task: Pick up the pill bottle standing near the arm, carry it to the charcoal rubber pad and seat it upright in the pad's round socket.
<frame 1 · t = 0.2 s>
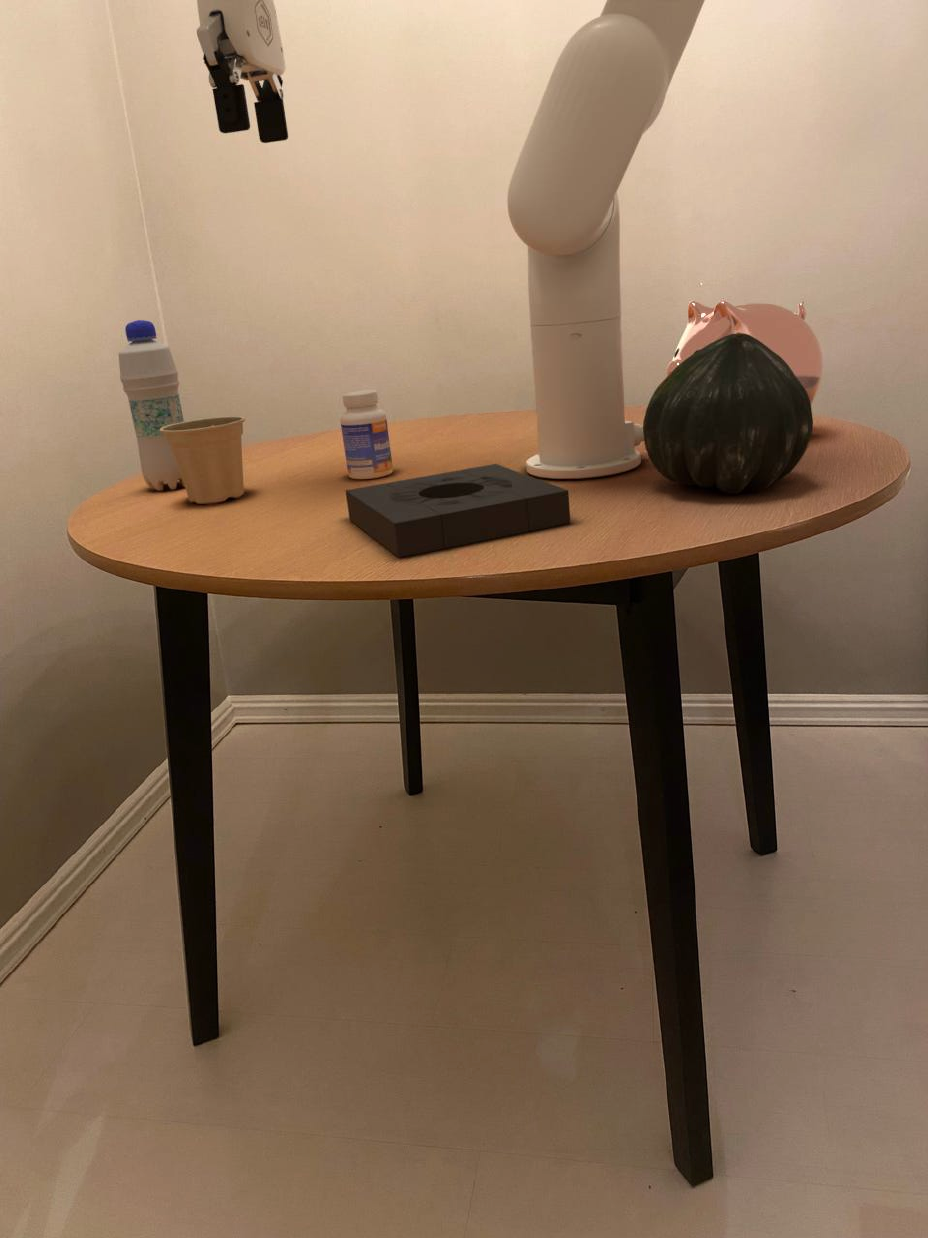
hand: (255, 136, 99), 37 cm above the table, tool pointing down, fingers open, 9 cm apart
pill bottle: (371, 476, 112), on the table
bottle: (172, 488, 118), on the table
flower pot: (217, 499, 108), on the table
pad: (454, 521, 87), on the table
squash: (727, 487, 90), on the table
piggy bank: (740, 440, 111), on the table
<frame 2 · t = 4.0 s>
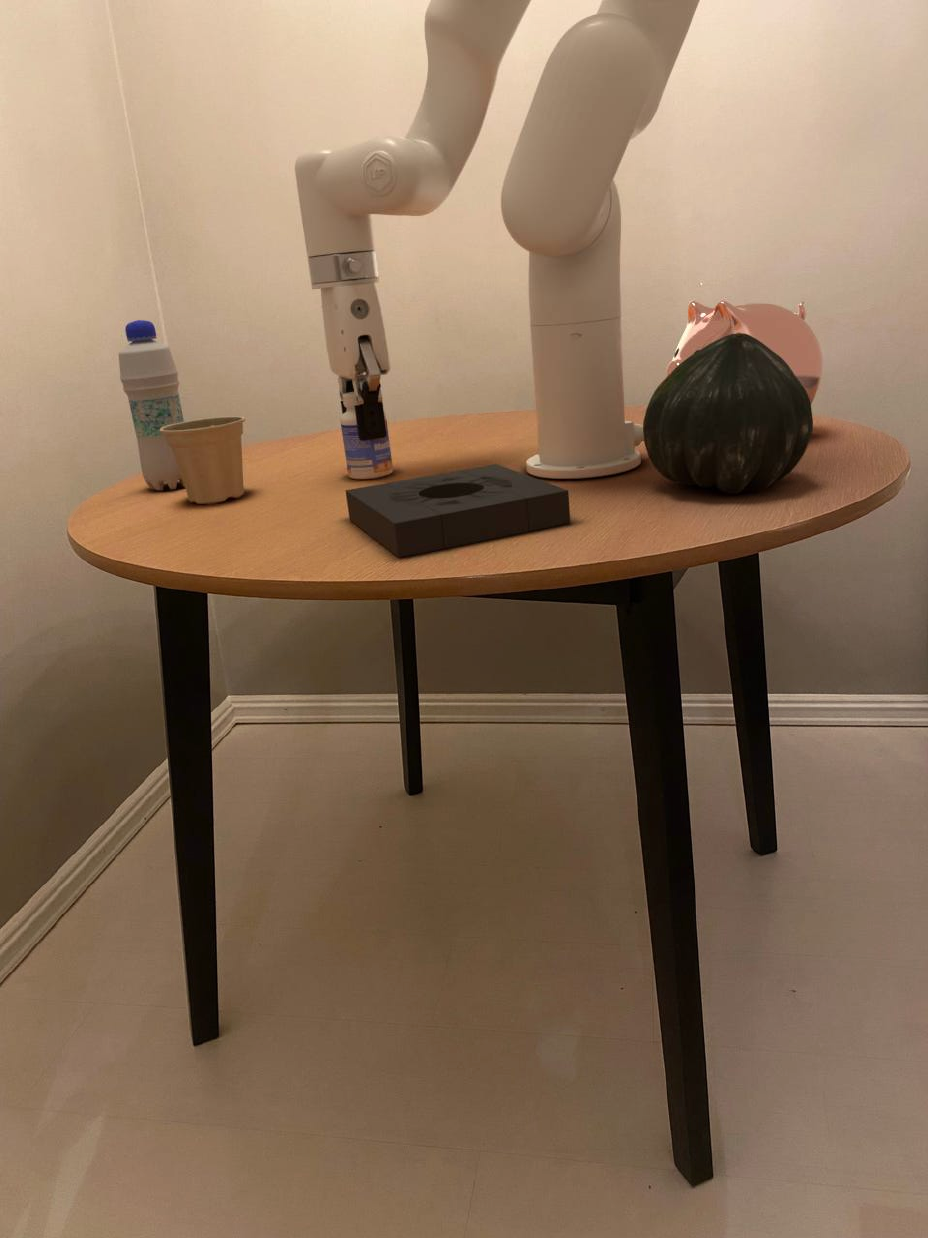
hand: (365, 434, 110), 5 cm above the table, tool pointing down, fingers closed on pill bottle, 5 cm apart
pill bottle: (371, 476, 112), on the table, touching gripper
everything else where it was.
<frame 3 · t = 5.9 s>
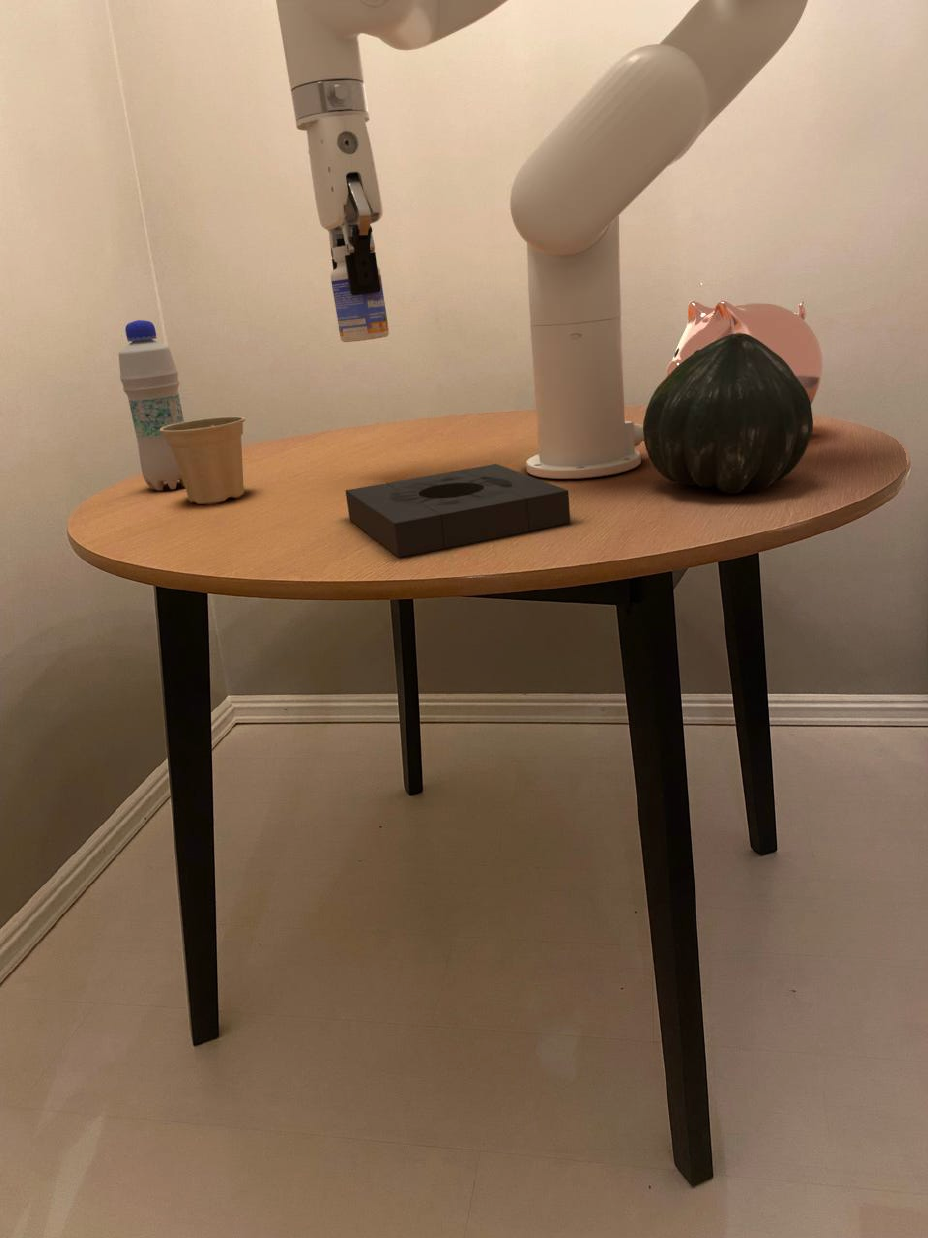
hand: (358, 292, 102), 21 cm above the table, tool pointing down, fingers closed on pill bottle, 5 cm apart
pill bottle: (365, 341, 104), point 15 cm above the table, touching gripper
everything else where it was.
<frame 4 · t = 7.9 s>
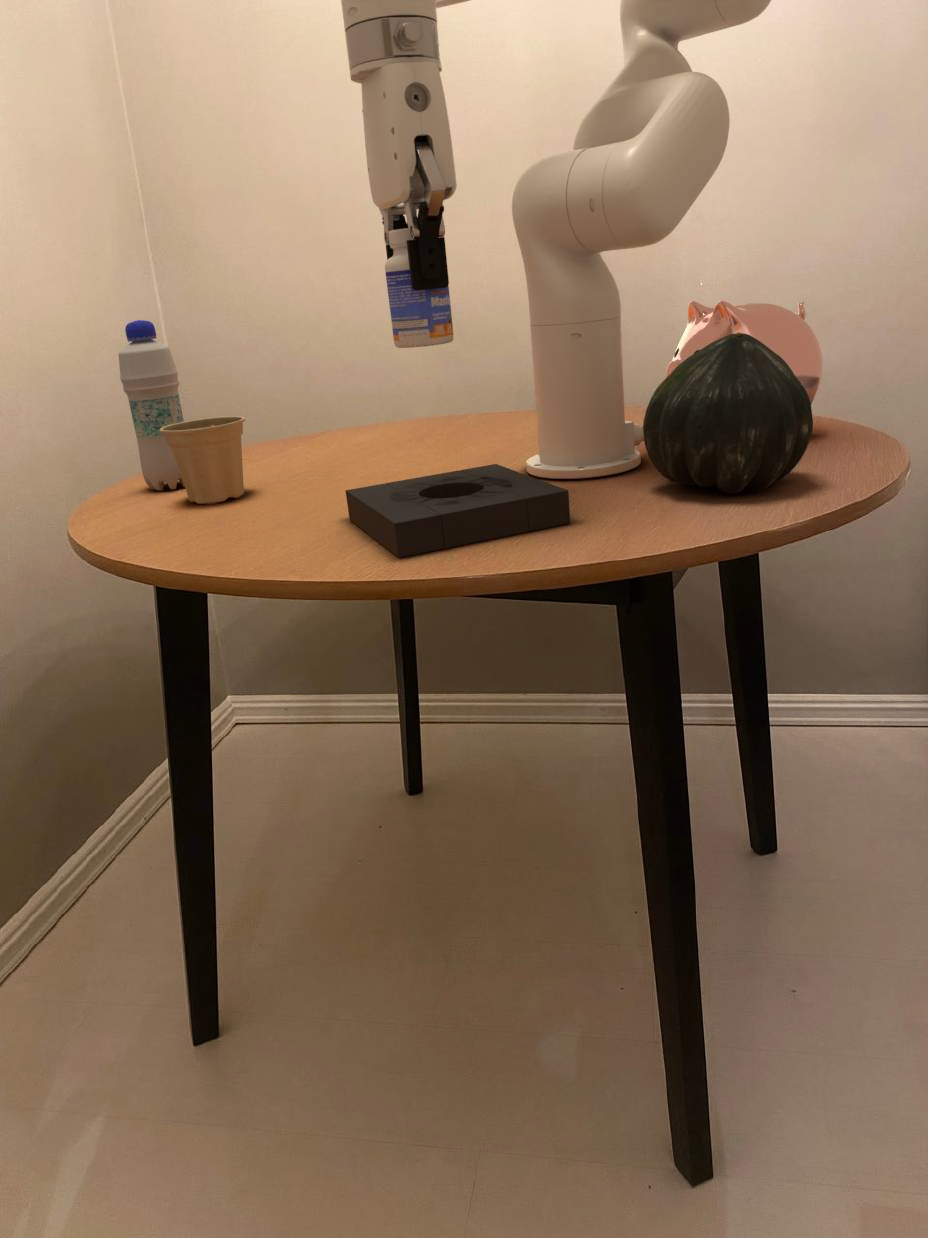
hand: (419, 287, 83), 21 cm above the table, tool pointing down, fingers closed on pill bottle, 5 cm apart
pill bottle: (424, 347, 84), point 16 cm above the table, touching gripper
everything else where it was.
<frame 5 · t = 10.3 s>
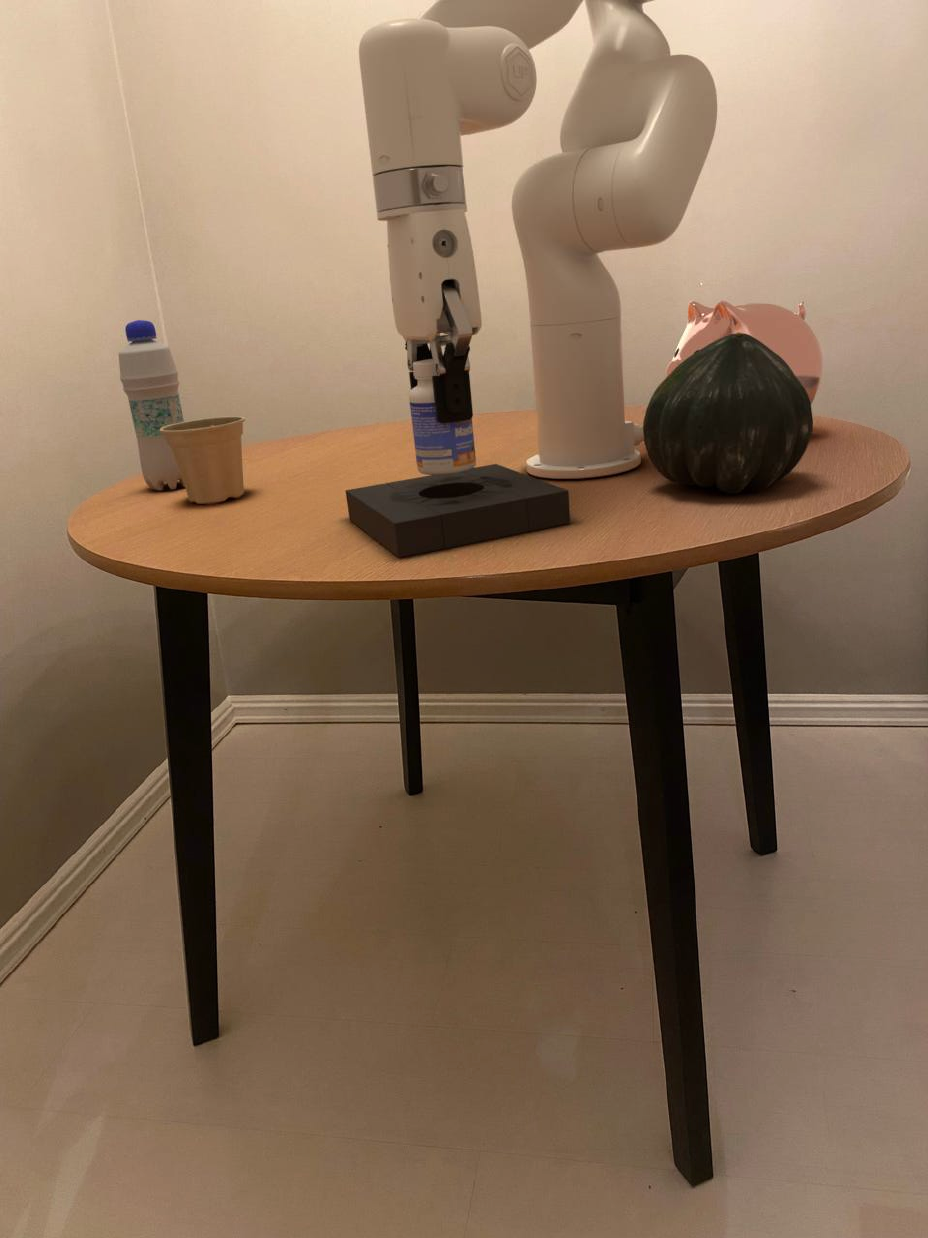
hand: (442, 415, 84), 10 cm above the table, tool pointing down, fingers closed on pill bottle, 5 cm apart
pill bottle: (447, 471, 86), point 5 cm above the table, touching gripper
everything else where it was.
when the fingers open (5 cm above the table, at t = 12.0 s): pill bottle stays where it is, resting in pad.
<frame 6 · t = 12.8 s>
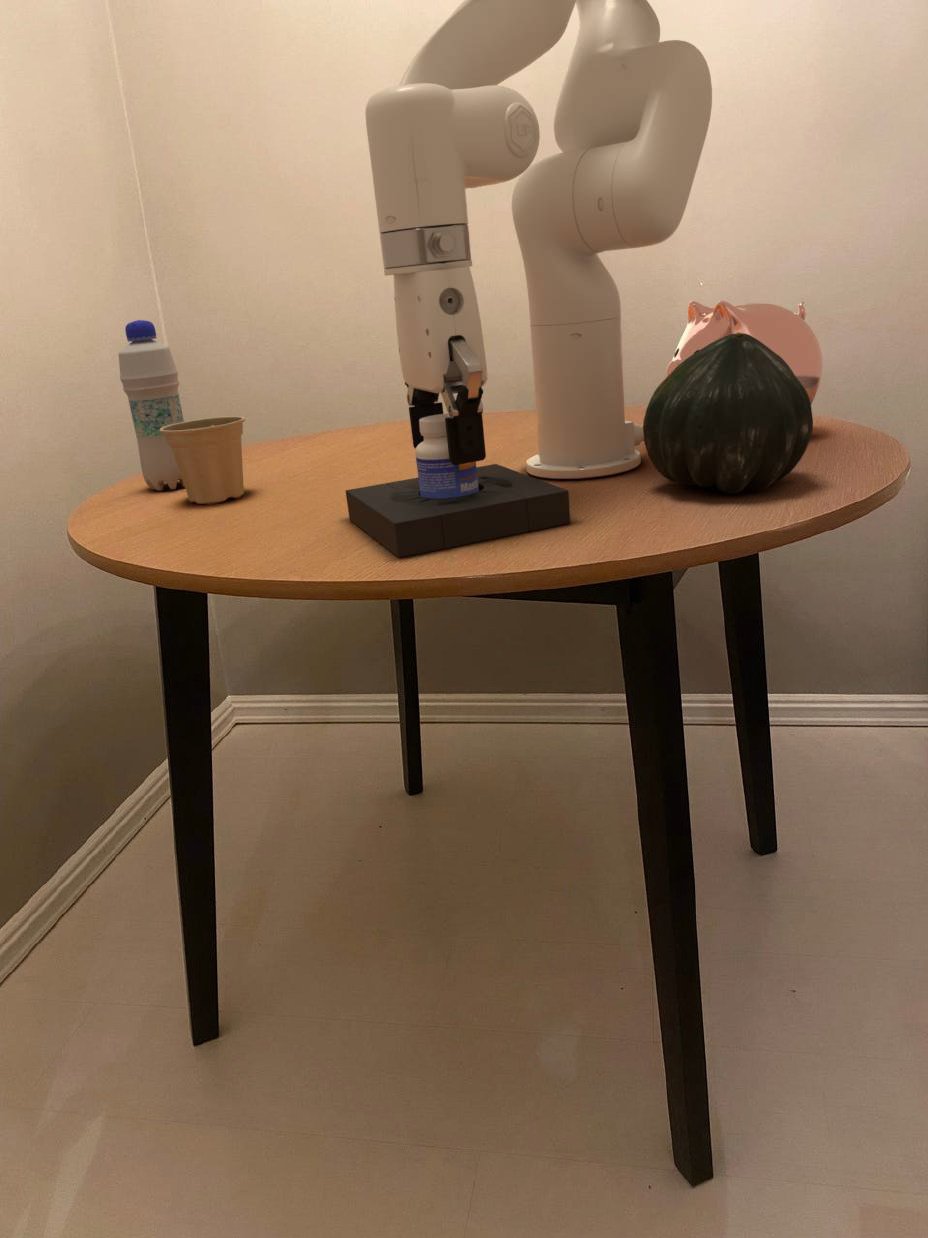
hand: (448, 454, 85), 6 cm above the table, tool pointing down, fingers open, 9 cm apart
pill bottle: (452, 524, 87), resting in pad
everything else where it was.
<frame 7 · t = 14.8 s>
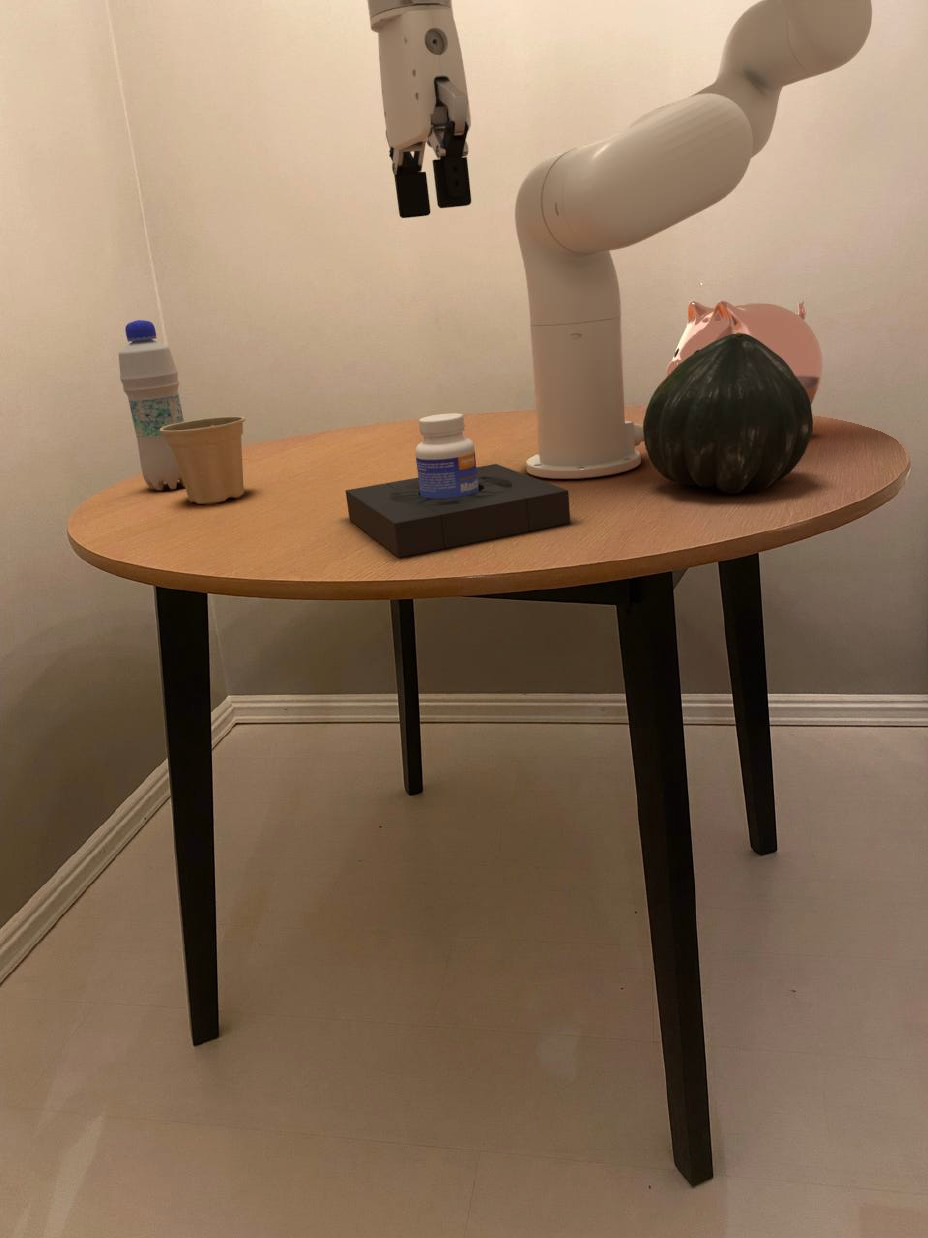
hand: (434, 211, 90), 27 cm above the table, tool pointing down, fingers open, 9 cm apart
nothing on the table moved.
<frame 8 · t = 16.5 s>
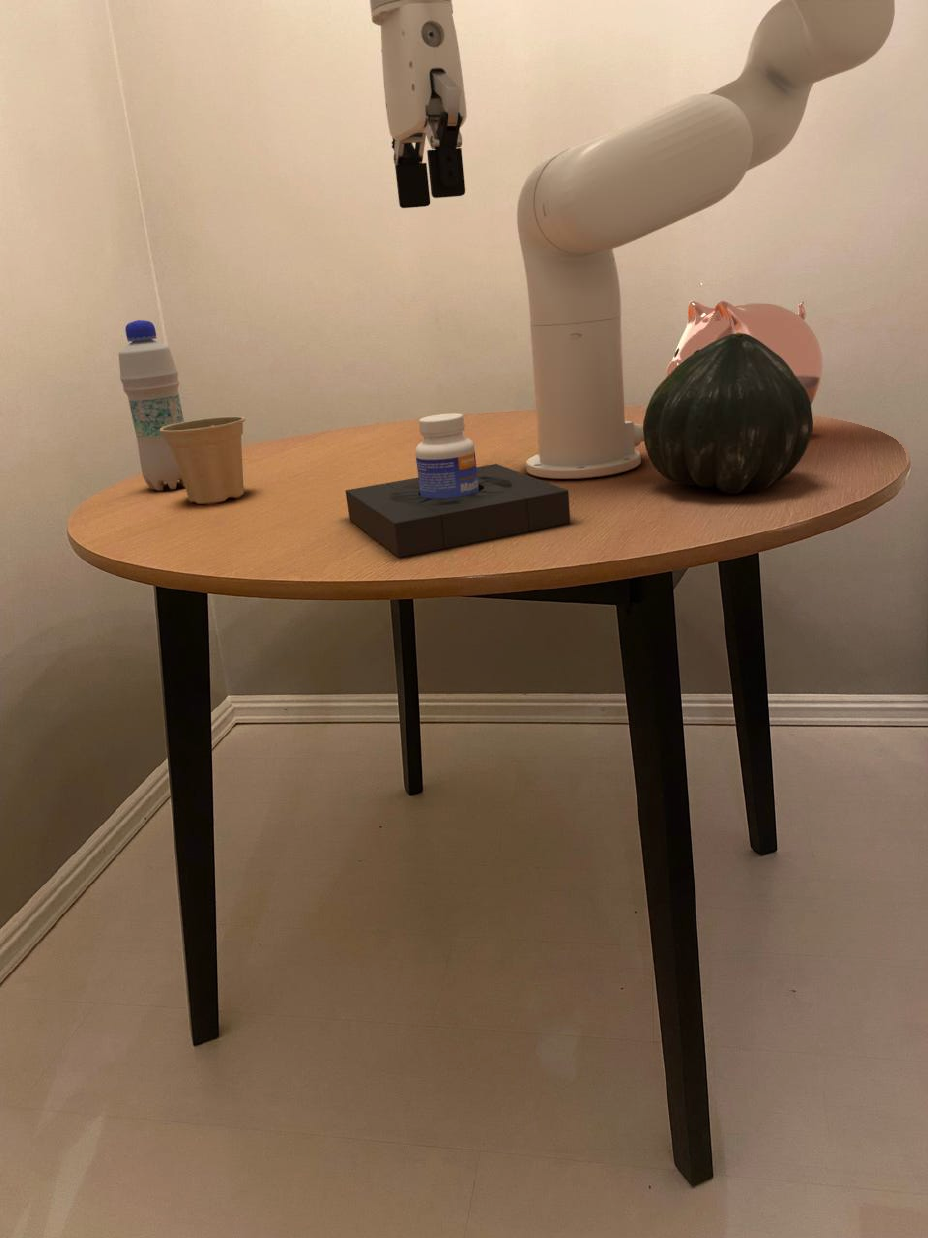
hand: (431, 201, 92), 28 cm above the table, tool pointing down, fingers open, 9 cm apart
nothing on the table moved.
at the end: pill bottle 0.2 cm off-centre in the pad, point 0.0 cm above the pad's base; pill bottle tilted 0°; the gripper is holding nothing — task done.
